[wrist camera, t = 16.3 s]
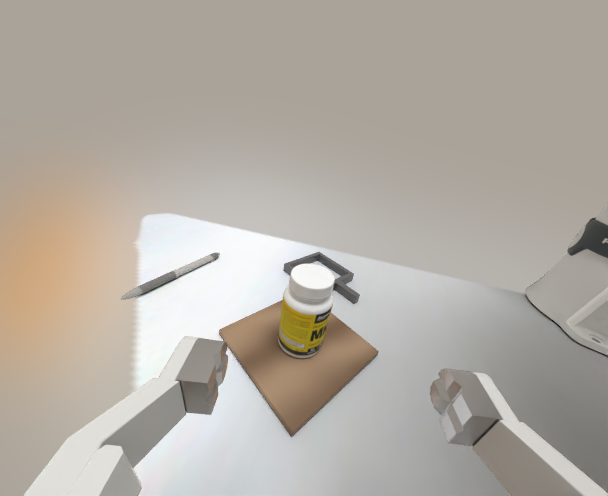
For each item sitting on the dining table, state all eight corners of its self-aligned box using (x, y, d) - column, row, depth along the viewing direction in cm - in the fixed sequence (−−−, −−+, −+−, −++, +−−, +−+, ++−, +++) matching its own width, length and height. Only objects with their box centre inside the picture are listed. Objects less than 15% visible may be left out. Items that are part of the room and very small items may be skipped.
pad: (377, 355, 26) (378, 351, 26) (291, 436, 18) (292, 432, 18) (302, 293, 33) (303, 290, 33) (219, 333, 26) (219, 329, 25)
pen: (221, 259, 38) (221, 252, 38) (125, 307, 27) (122, 297, 27) (217, 257, 39) (216, 249, 38) (120, 303, 28) (117, 293, 27)
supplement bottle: (310, 368, 23) (327, 300, 19) (268, 346, 24) (275, 278, 21) (328, 334, 27) (345, 271, 23) (291, 317, 28) (300, 255, 24)
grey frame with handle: (371, 292, 36) (373, 286, 35) (338, 313, 31) (340, 306, 30) (317, 257, 43) (319, 251, 42) (283, 270, 38) (284, 263, 37)
